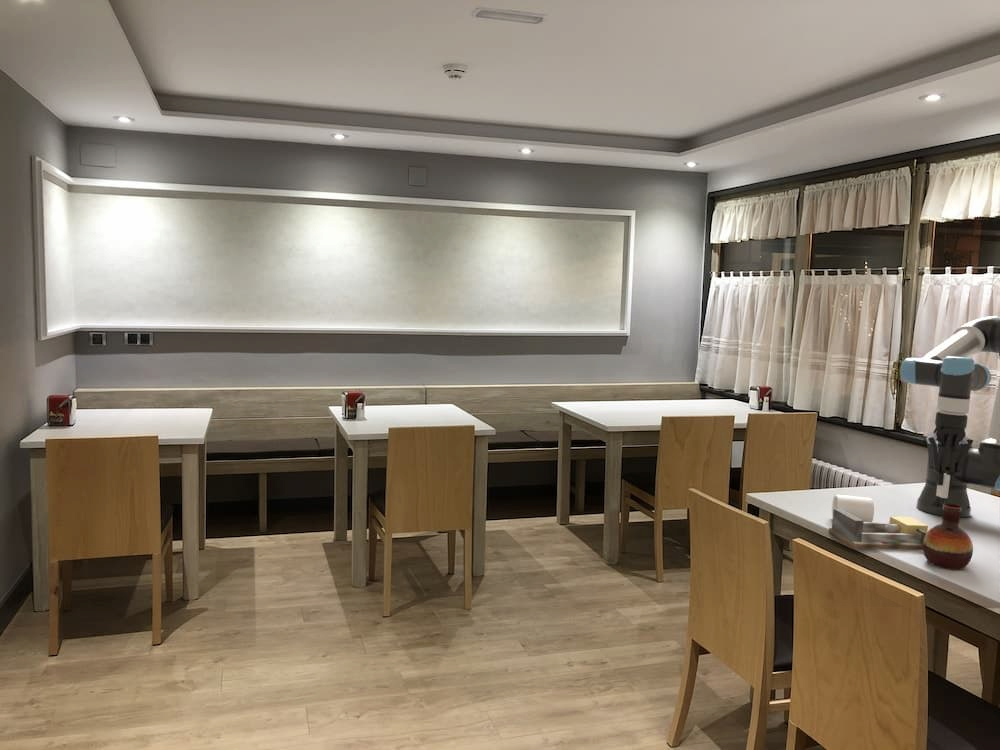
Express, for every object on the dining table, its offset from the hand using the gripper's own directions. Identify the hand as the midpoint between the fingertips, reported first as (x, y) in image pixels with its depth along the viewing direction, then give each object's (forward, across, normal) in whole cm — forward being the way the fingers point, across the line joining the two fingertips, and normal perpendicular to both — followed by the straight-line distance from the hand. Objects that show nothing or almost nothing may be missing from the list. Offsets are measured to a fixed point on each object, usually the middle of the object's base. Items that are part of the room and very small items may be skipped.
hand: (941, 496), depth 215 cm
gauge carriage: (+12, +10, +1) cm, 16 cm away
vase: (+14, +10, +18) cm, 24 cm away
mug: (+13, +14, -19) cm, 28 cm away
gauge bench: (+13, +16, 0) cm, 20 cm away
